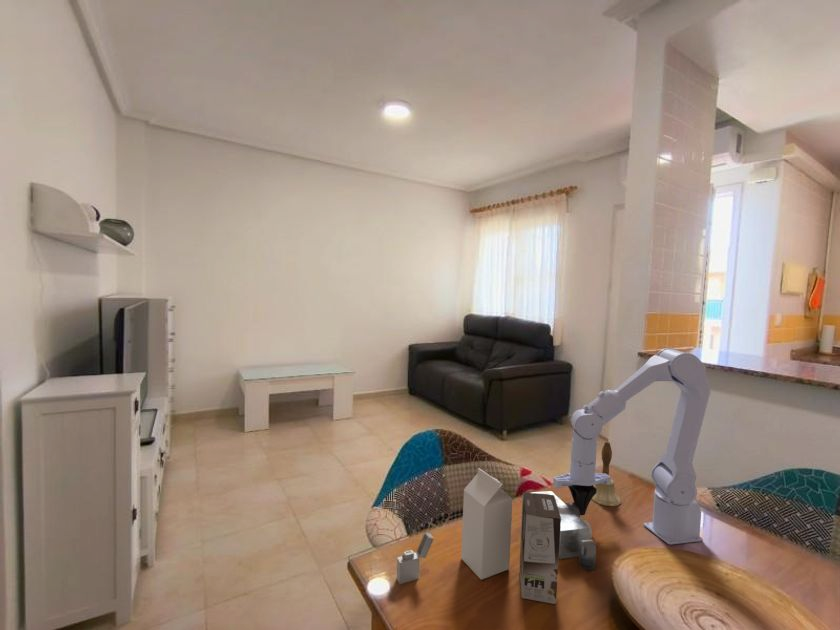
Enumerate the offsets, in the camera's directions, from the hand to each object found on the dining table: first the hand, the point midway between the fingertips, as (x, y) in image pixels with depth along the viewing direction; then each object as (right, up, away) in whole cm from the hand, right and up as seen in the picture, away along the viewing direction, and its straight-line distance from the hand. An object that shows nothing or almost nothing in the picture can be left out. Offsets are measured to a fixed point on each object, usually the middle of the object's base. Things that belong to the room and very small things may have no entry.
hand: (580, 513), depth 98 cm
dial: (-5, -3, -16) cm, 17 cm away
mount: (-8, -3, -5) cm, 10 cm away
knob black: (-5, -1, -1) cm, 5 cm away
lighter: (-41, -3, -20) cm, 45 cm away
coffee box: (-17, -3, -21) cm, 27 cm away
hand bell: (+12, -2, +12) cm, 17 cm away
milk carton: (-26, -3, -16) cm, 31 cm away
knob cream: (-5, -2, -8) cm, 10 cm away
